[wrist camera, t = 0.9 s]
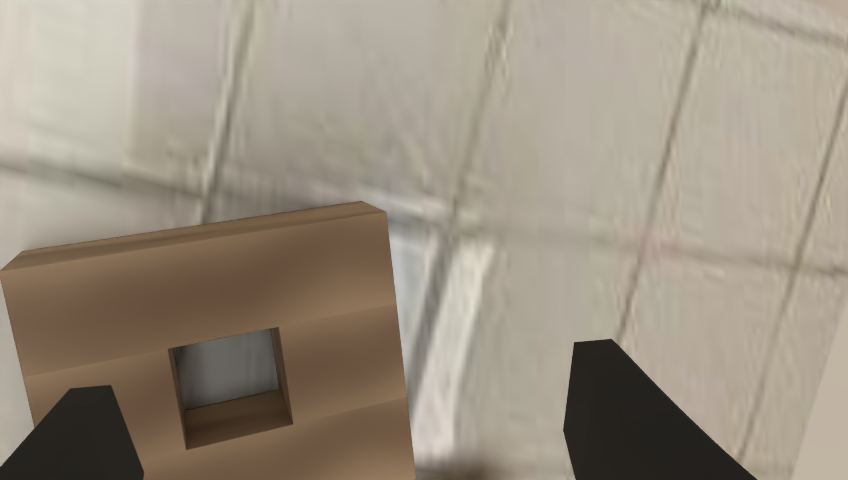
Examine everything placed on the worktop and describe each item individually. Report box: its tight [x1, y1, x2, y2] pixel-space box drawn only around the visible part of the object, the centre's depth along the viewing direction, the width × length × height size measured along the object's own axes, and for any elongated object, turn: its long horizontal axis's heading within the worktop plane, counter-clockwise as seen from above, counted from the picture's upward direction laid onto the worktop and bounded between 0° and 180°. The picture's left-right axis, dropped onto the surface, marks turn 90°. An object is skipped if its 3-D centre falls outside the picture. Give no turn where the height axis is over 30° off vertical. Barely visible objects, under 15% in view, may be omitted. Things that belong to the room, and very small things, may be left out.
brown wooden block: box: [0, 201, 416, 480], centre depth 29 cm, size 12×14×4 cm
